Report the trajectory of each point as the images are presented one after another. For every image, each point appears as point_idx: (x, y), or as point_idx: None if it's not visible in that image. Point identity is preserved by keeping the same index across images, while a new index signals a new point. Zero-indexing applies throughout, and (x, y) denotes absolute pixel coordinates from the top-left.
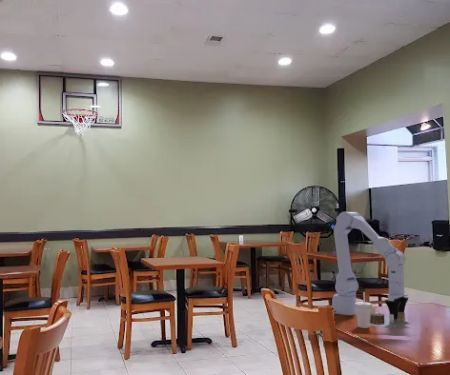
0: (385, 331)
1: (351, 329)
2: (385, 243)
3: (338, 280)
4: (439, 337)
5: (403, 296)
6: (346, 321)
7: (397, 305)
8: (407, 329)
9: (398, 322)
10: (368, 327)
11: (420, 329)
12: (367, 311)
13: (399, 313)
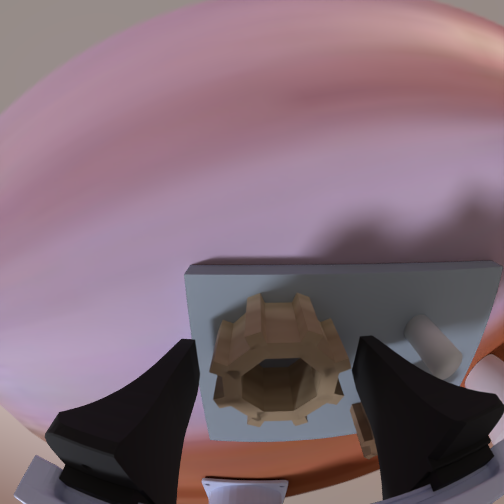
0: None
1: None
2: None
3: None
4: (476, 32)
5: (75, 478)
6: (349, 470)
7: (475, 394)
8: (426, 212)
9: (350, 313)
10: (499, 360)
11: (381, 127)
12: None
13: (309, 363)
